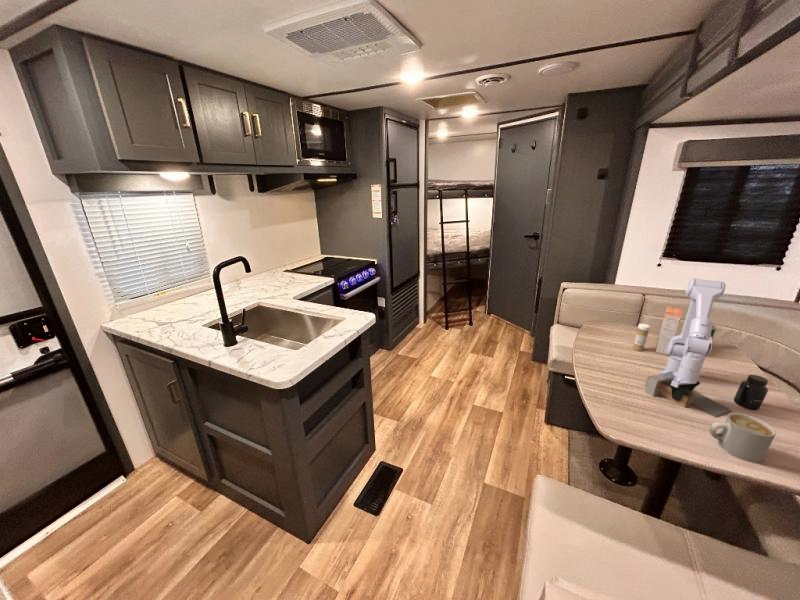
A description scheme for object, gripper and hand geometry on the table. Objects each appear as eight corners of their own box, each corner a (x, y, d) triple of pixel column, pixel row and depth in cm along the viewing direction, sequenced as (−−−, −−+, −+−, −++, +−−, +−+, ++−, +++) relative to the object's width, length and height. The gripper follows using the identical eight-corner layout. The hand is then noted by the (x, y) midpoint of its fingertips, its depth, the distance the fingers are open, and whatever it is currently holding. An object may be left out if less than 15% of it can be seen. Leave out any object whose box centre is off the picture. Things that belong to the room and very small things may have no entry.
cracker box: (656, 342, 164) (667, 305, 157) (671, 345, 161) (683, 308, 153) (653, 352, 155) (665, 313, 147) (669, 356, 151) (682, 316, 144)
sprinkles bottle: (644, 349, 157) (651, 325, 152) (641, 352, 155) (648, 327, 150) (634, 346, 161) (641, 322, 156) (630, 348, 158) (637, 324, 154)
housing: (667, 385, 129) (672, 371, 127) (675, 389, 126) (680, 375, 124) (645, 391, 125) (649, 377, 123) (652, 396, 123) (657, 381, 120)
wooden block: (651, 384, 130) (655, 374, 129) (691, 404, 118) (695, 393, 116) (644, 386, 129) (647, 376, 127) (684, 407, 117) (688, 396, 115)
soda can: (696, 343, 162) (703, 322, 158) (709, 346, 159) (717, 325, 155) (694, 346, 159) (702, 325, 155) (708, 350, 156) (716, 328, 152)
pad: (685, 387, 127) (685, 386, 127) (731, 411, 114) (732, 410, 114) (669, 392, 125) (670, 391, 125) (715, 416, 111) (715, 415, 111)
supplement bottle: (755, 413, 113) (768, 385, 109) (729, 402, 119) (741, 375, 114) (762, 407, 116) (775, 380, 112) (737, 397, 122) (748, 370, 117)
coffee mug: (756, 445, 99) (768, 420, 96) (768, 467, 91) (782, 441, 88) (700, 429, 106) (710, 405, 103) (707, 448, 98) (717, 423, 95)
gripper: (688, 357, 121) (678, 387, 126) (666, 366, 116) (656, 396, 120) (711, 366, 115) (699, 397, 120) (688, 376, 110) (677, 407, 114)
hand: (679, 397), depth 120 cm, fingers closed on wooden block, 5 cm apart
